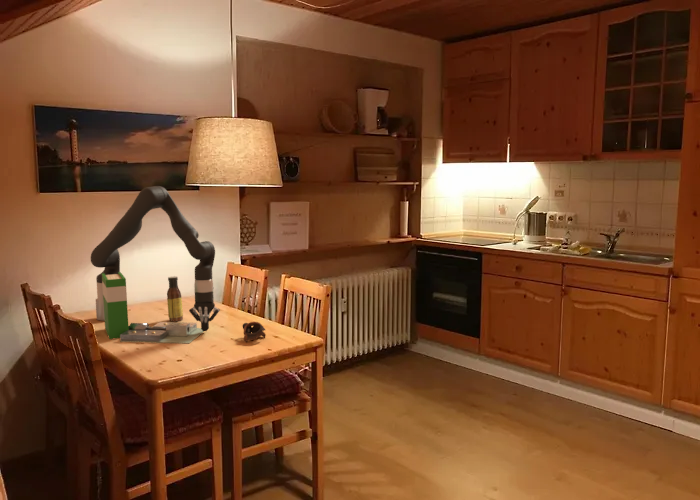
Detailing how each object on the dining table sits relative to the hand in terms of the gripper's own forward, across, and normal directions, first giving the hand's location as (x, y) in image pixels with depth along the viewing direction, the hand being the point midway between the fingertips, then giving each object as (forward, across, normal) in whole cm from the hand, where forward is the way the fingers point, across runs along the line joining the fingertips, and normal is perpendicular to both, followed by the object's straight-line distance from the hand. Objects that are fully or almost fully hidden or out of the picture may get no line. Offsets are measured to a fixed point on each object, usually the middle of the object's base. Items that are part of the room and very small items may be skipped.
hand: (205, 330), depth 247 cm
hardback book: (+1, -37, -3) cm, 37 cm away
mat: (+1, -15, -4) cm, 16 cm away
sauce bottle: (+1, -20, +20) cm, 29 cm away
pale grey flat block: (0, -13, -1) cm, 13 cm away
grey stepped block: (+1, -21, -9) cm, 23 cm away
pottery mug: (+1, +22, -7) cm, 23 cm away
